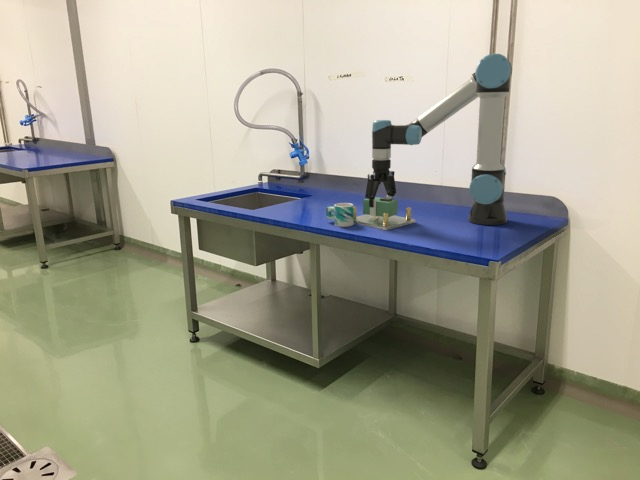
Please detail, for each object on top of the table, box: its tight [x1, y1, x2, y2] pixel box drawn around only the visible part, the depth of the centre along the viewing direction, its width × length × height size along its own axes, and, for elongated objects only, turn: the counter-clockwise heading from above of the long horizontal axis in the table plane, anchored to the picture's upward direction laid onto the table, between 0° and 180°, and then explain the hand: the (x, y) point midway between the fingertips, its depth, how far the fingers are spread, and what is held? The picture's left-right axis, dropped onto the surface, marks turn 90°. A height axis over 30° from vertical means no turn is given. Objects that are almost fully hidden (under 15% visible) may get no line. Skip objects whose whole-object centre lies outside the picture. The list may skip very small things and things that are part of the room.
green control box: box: [362, 196, 399, 217], centre depth 222 cm, size 12×8×7 cm, turn 55°
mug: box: [325, 202, 355, 228], centre depth 222 cm, size 8×12×8 cm
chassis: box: [353, 206, 416, 231], centre depth 223 cm, size 22×18×6 cm
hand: (380, 212), depth 223 cm, fingers closed on green control box, 9 cm apart
